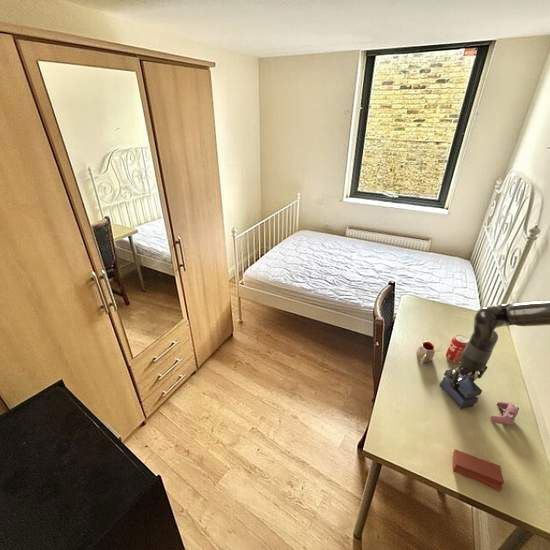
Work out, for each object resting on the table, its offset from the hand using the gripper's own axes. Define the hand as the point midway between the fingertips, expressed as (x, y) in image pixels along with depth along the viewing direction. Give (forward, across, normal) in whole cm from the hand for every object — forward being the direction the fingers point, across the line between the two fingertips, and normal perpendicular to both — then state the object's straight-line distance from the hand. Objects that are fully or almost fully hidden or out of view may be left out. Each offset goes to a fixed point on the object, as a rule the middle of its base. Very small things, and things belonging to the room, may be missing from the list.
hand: (460, 386), depth 110 cm
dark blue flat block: (-1, 0, 0) cm, 1 cm away
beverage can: (+5, +13, +16) cm, 22 cm away
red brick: (+5, -16, -25) cm, 30 cm away
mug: (+5, 0, +19) cm, 20 cm away
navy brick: (+5, 0, 0) cm, 5 cm away
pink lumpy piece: (+5, +10, -11) cm, 16 cm away
